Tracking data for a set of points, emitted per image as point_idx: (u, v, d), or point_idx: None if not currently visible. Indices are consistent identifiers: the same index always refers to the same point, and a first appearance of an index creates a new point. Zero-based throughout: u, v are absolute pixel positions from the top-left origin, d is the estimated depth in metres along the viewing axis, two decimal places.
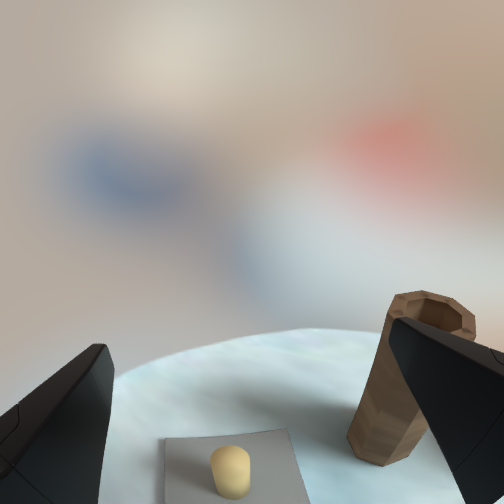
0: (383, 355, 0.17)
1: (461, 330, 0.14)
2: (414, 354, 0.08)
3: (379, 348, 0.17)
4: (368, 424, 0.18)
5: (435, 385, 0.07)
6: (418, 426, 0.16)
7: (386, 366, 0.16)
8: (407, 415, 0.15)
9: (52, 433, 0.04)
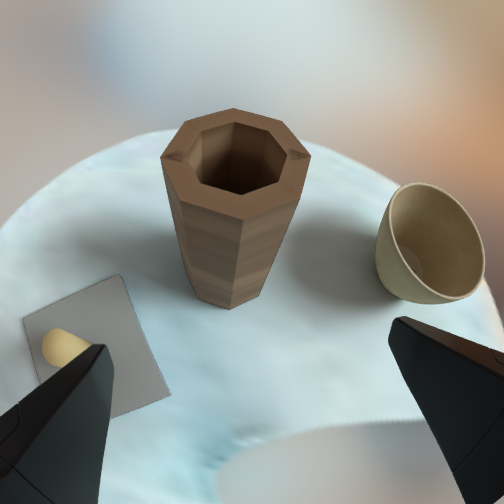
0: (173, 207, 0.14)
1: (276, 186, 0.12)
2: (414, 354, 0.08)
3: (168, 196, 0.14)
4: (191, 272, 0.19)
5: (435, 385, 0.07)
6: (249, 280, 0.18)
7: (178, 222, 0.14)
8: (225, 275, 0.16)
9: (52, 433, 0.04)
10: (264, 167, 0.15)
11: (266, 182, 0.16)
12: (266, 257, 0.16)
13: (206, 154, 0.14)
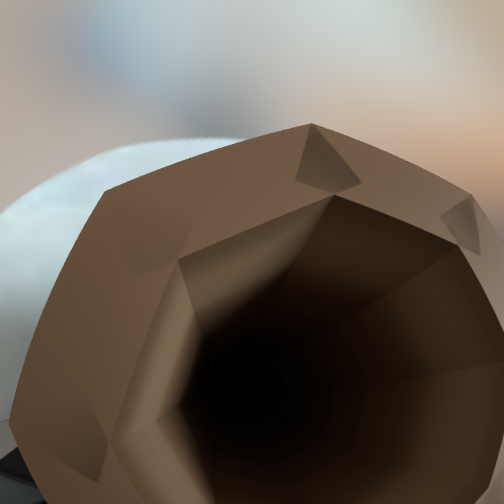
0: None
1: None
2: None
3: None
4: None
5: None
6: None
7: None
8: None
9: None
10: (381, 316, 0.05)
11: (373, 342, 0.05)
12: None
13: (208, 301, 0.04)
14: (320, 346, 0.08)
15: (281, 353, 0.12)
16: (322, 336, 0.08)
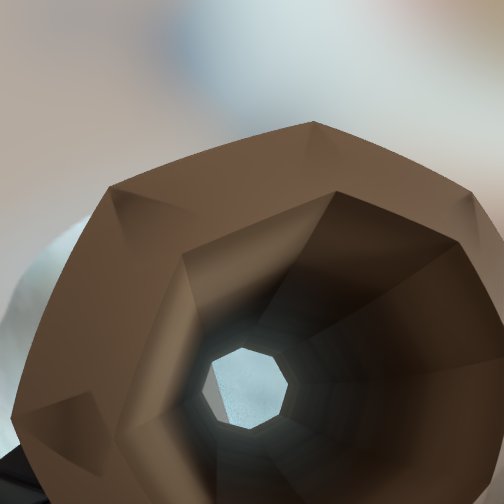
0: None
1: (482, 499, 0.02)
2: None
3: None
4: None
5: None
6: None
7: None
8: None
9: None
10: (382, 313, 0.05)
11: (374, 340, 0.05)
12: None
13: (210, 296, 0.04)
14: (321, 344, 0.08)
15: (282, 352, 0.13)
16: (323, 334, 0.08)
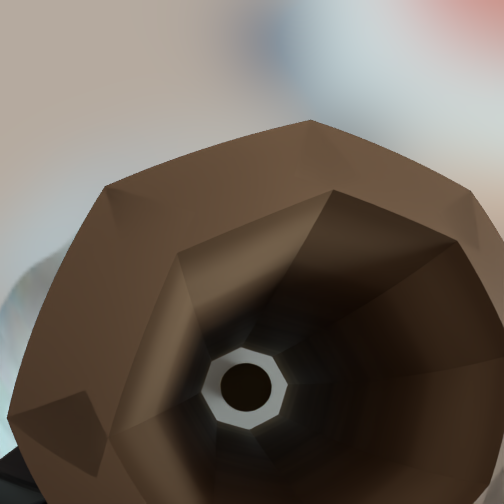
0: None
1: (481, 501, 0.02)
2: None
3: None
4: None
5: None
6: None
7: None
8: None
9: None
10: (381, 313, 0.05)
11: (373, 340, 0.05)
12: None
13: (208, 297, 0.04)
14: (320, 344, 0.08)
15: (281, 352, 0.13)
16: (322, 334, 0.08)
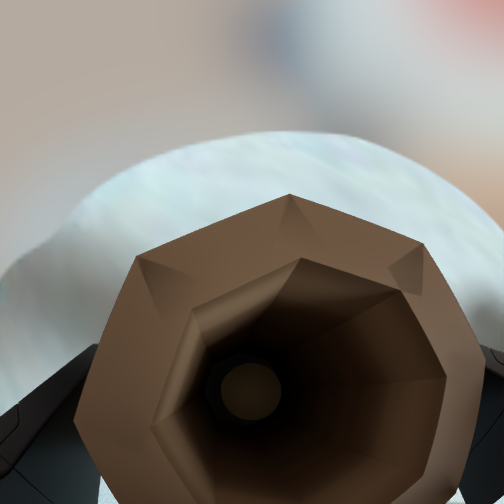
0: None
1: (416, 488, 0.03)
2: None
3: None
4: None
5: None
6: None
7: None
8: None
9: (52, 432, 0.04)
10: (350, 334, 0.06)
11: (346, 353, 0.07)
12: None
13: (211, 325, 0.05)
14: (306, 353, 0.09)
15: (275, 357, 0.14)
16: (308, 345, 0.09)
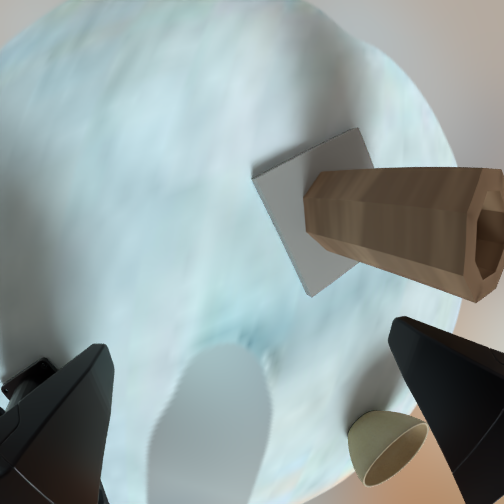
0: (428, 179, 0.12)
1: (480, 280, 0.10)
2: (414, 354, 0.08)
3: (435, 170, 0.12)
4: (343, 192, 0.17)
5: (435, 385, 0.07)
6: (361, 254, 0.17)
7: (417, 189, 0.12)
8: (369, 238, 0.15)
9: (52, 432, 0.04)
10: None
11: None
12: (398, 270, 0.15)
13: None
14: None
15: None
16: None
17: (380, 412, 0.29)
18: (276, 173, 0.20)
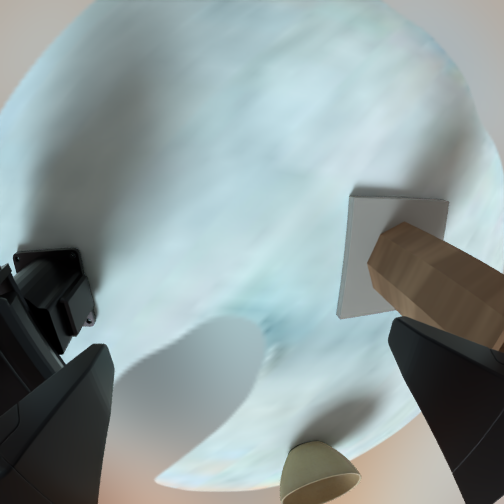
0: (492, 279, 0.12)
1: None
2: (414, 354, 0.08)
3: (499, 274, 0.12)
4: (418, 250, 0.18)
5: (435, 385, 0.07)
6: (405, 306, 0.18)
7: (480, 281, 0.12)
8: (422, 298, 0.16)
9: (52, 433, 0.04)
10: None
11: None
12: None
13: None
14: None
15: None
16: None
17: (328, 446, 0.30)
18: (371, 203, 0.21)
